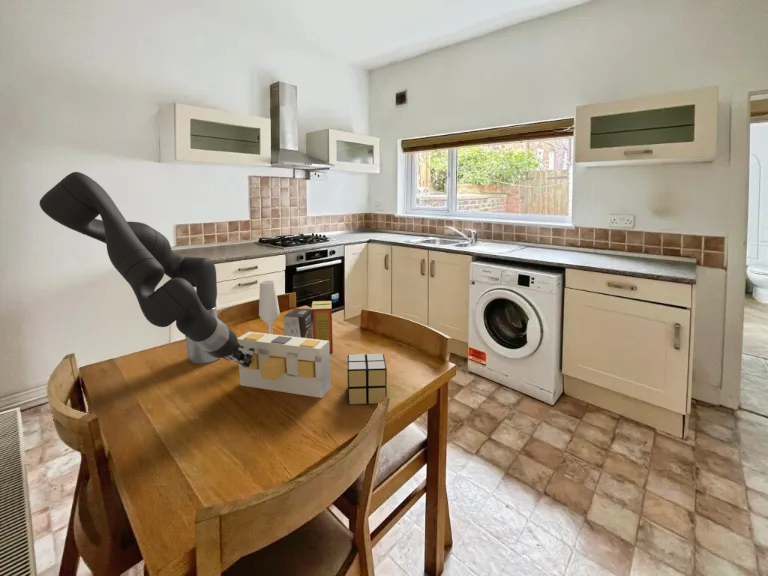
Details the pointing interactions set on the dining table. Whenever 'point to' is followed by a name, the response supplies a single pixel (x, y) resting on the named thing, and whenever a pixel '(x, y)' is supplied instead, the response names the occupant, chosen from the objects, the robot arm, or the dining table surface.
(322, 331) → the baking soda box
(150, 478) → the dining table surface
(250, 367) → the button
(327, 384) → the block
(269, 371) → the button
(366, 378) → the puzzle cube
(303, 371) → the button
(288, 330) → the coffee box
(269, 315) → the champagne flute
